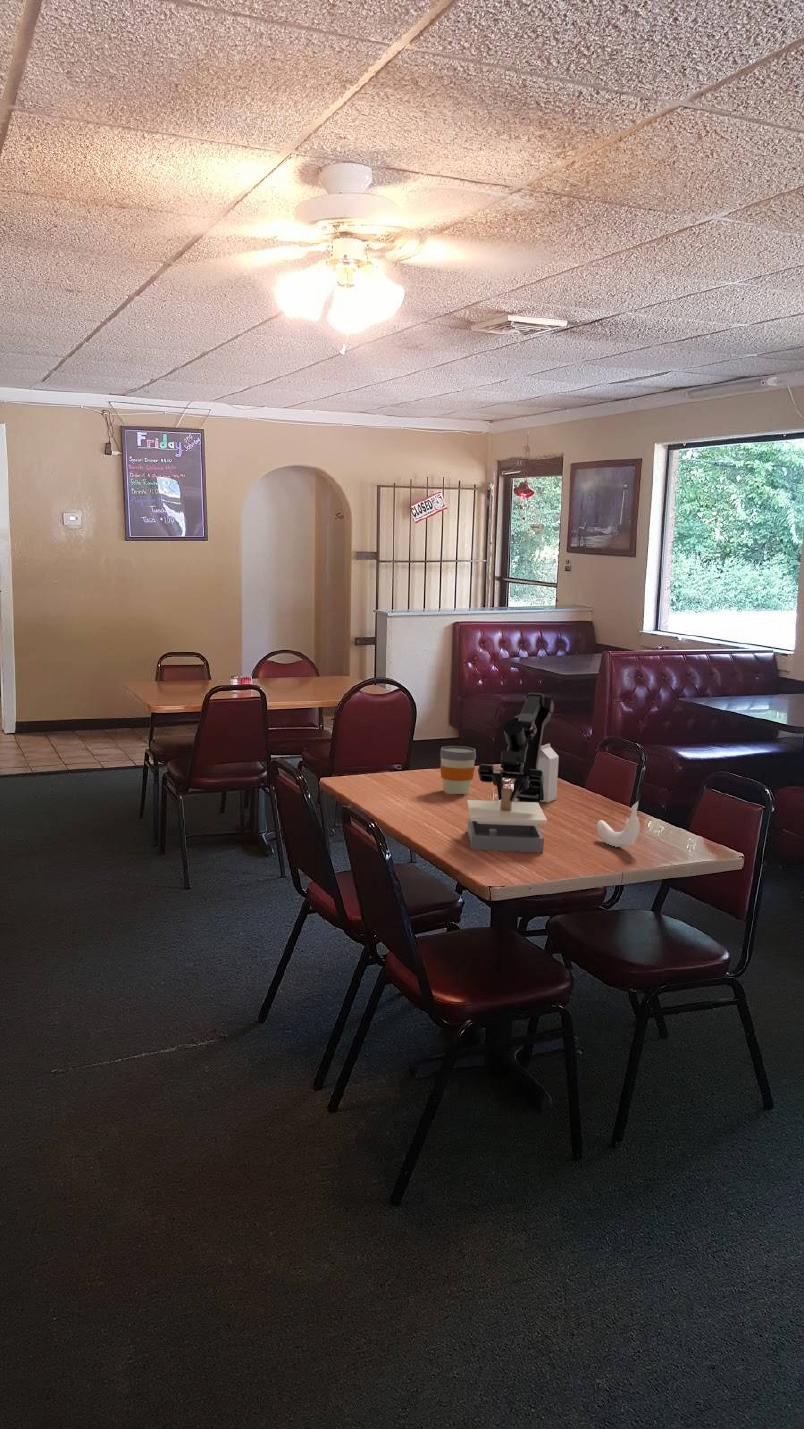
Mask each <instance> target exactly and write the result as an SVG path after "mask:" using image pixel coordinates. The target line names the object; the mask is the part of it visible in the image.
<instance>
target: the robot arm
mask: <svg viewBox="0 0 804 1429" xmlns="http://www.w3.org/2000/svg"><path fill="white" fill-rule="evenodd" d="M524 702H525V703H524V705H523V707H522V709H521V712H520V714H518V715H515V716H512V718H511V720H508V721H507V722H506V723H505V724H503V732H504V737H505V741H506V744H507V745H508V746H507V748H506V750H501V755H500V760H499V761H500V768H494V765H493V764H485V763H481V764H479V765H478V769H477V773H478V778H479V781H480V782H482V783H489V784H490V783H492V784H493V786H496V789H497V796H498V801H501V789H502V788H504V782H503V781H504V780H503V779H508V780H514V782H513V788H512V789H513V792H512V795H511V802H515V801H514V800H516V799H517V801H516V802H536V803H539V802H541V800H544V789H543V785H544V776H543V772H542V770H538V763H539V756H540V750H541V746H542V742H543V735H544V729H545V726H546V725H547V723H548V722H550V720H551V716H552V714H553V713H554V710H555V704H554V701H553V699H552V698H550V697H547V696H546V695H545V694H543V693H539V692H530V693H529V692H528V693H527V695H526V697H525V701H524ZM537 795H538V796H537Z"/></svg>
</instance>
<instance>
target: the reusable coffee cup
mask: <svg viewBox="0 0 804 1429" xmlns="http://www.w3.org/2000/svg"><path fill="white" fill-rule="evenodd" d="M439 758H440V764H439V766H440V767H439V768H440V769H439V770H440V778H441V779H442V790H443V791H444V792H443V793H445V794H448V795H453V794H464V795H468V794H470V790H471V783H472V781H473V779H474V774H475V768H476V766H475V762H476V759H477V752H476V749H475V748H472V747H469V746H461V745H460V746H459V745H449V746H442V747H441V748H440V753H439Z"/></svg>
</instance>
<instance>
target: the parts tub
mask: <svg viewBox="0 0 804 1429" xmlns="http://www.w3.org/2000/svg"><path fill="white" fill-rule="evenodd" d="M467 835H468V840H470V841H469V845H470V849H471V850H472V851H490V850H500V851H499V852H515V851H518V853H519V851H520V853H521V852H522V853H540V852H543V853H544V843H545V842H544V841H545V838H544V836H543V834H542V831H541V830H540V828H539V826H525V825H499V824H477V821H471V818H470V817H468V818H467Z"/></svg>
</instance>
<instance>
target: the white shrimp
mask: <svg viewBox="0 0 804 1429" xmlns="http://www.w3.org/2000/svg"><path fill="white" fill-rule="evenodd" d="M638 806H639V801H636V803H634V804H633V805H632V806H631V814H630V815H629V816H630V817H629V819H628V821H627V823H626V825H625V828H624V829H623V830H621V831H615V830H614V829H613V828H612V827H611V826H610V825H609V824H608V823H607V822H606V821H604V820H602V819H600V820H598V821H597V824H596V825H597V826H596V830H597V833H598V834H599V836H600V838H601V839H602V840H603V842H605V844H607V845H608V844H609V845H608V846H610V845H612V846H611V847H613V846H615V847H614V848H617V847H621V849H622V848H623V847H624V848H627V847H629V846H632V844H633V843H634V842H635V841H636V839H637V838H638V836H639V833H640V829H641V823H640V820H639V818H638V814H637V812H638Z"/></svg>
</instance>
